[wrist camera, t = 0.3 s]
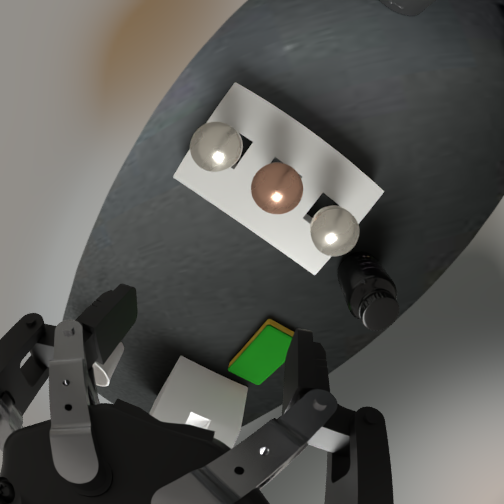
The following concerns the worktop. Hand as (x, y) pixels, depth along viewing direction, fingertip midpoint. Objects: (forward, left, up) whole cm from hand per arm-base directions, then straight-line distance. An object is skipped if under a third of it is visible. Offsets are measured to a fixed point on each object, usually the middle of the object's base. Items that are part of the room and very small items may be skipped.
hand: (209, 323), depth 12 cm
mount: (-5, 0, -27) cm, 27 cm away
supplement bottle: (-1, +18, -27) cm, 32 cm away
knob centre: (-5, 0, -20) cm, 21 cm away
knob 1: (-5, -7, -20) cm, 22 cm away
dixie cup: (+43, -9, -27) cm, 52 cm away
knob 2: (-5, +7, -20) cm, 22 cm away
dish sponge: (+21, +16, -28) cm, 38 cm away
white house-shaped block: (+42, +13, -27) cm, 52 cm away
